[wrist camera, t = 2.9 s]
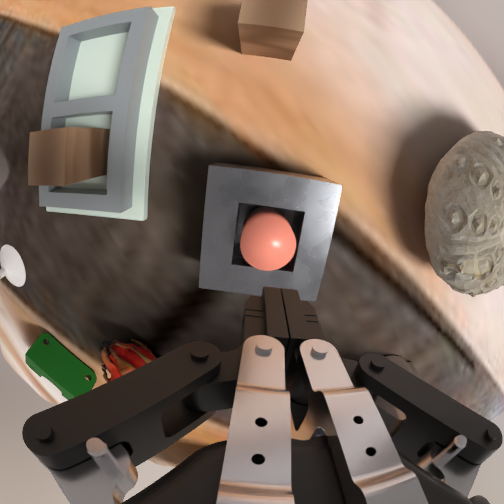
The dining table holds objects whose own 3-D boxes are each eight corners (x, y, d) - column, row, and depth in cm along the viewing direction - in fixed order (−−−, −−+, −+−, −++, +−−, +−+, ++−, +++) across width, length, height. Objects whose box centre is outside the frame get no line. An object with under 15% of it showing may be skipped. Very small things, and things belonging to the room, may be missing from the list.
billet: (110, 129, 22) (67, 127, 15) (106, 174, 23) (64, 186, 17) (74, 131, 21) (30, 132, 15) (72, 174, 23) (28, 185, 16)
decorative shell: (460, 294, 29) (502, 335, 20) (376, 230, 26) (428, 271, 17) (516, 189, 23) (565, 207, 14) (447, 98, 20) (509, 91, 11)
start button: (293, 210, 23) (300, 222, 19) (285, 254, 24) (290, 273, 21) (245, 203, 23) (244, 214, 19) (239, 248, 24) (237, 267, 20)
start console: (326, 178, 24) (342, 185, 20) (306, 276, 28) (315, 301, 23) (217, 162, 24) (208, 165, 19) (207, 264, 27) (198, 287, 23)
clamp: (60, 335, 38) (21, 353, 30) (65, 323, 35) (20, 343, 27) (97, 394, 36) (58, 418, 28) (105, 389, 33) (62, 416, 25)
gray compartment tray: (176, 10, 18) (166, -5, 15) (147, 218, 26) (133, 228, 22) (73, 29, 17) (56, 21, 14) (51, 209, 25) (33, 217, 22)
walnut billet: (295, 23, 19) (308, -12, 12) (290, 60, 20) (303, 32, 14) (248, 16, 19) (246, -20, 12) (241, 54, 20) (237, 23, 14)
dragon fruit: (172, 383, 36) (126, 317, 34) (202, 396, 30) (148, 318, 28) (131, 418, 30) (78, 351, 28) (155, 440, 24) (88, 361, 22)
